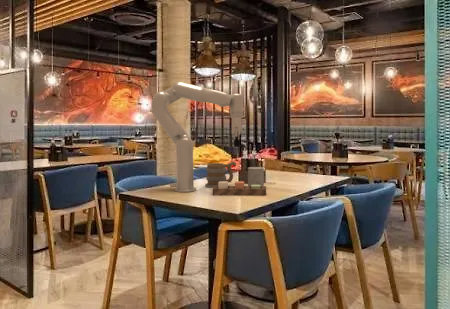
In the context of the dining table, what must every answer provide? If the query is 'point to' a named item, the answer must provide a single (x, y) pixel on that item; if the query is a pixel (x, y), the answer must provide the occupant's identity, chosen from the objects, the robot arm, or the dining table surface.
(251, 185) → the sage key
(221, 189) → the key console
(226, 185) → the cream key
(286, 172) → the dining table surface
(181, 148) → the robot arm
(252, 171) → the grey stone cylinder
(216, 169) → the tankard
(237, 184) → the terracotta key
